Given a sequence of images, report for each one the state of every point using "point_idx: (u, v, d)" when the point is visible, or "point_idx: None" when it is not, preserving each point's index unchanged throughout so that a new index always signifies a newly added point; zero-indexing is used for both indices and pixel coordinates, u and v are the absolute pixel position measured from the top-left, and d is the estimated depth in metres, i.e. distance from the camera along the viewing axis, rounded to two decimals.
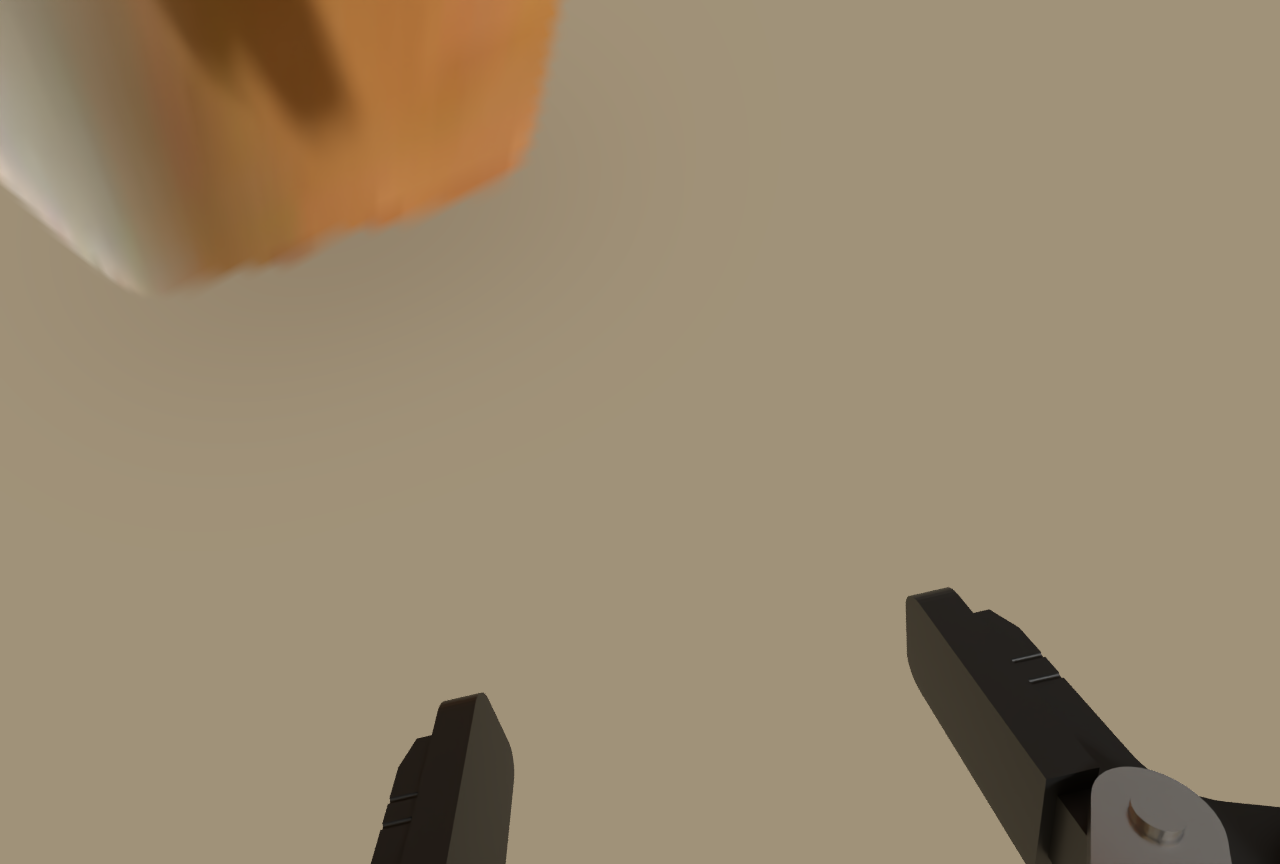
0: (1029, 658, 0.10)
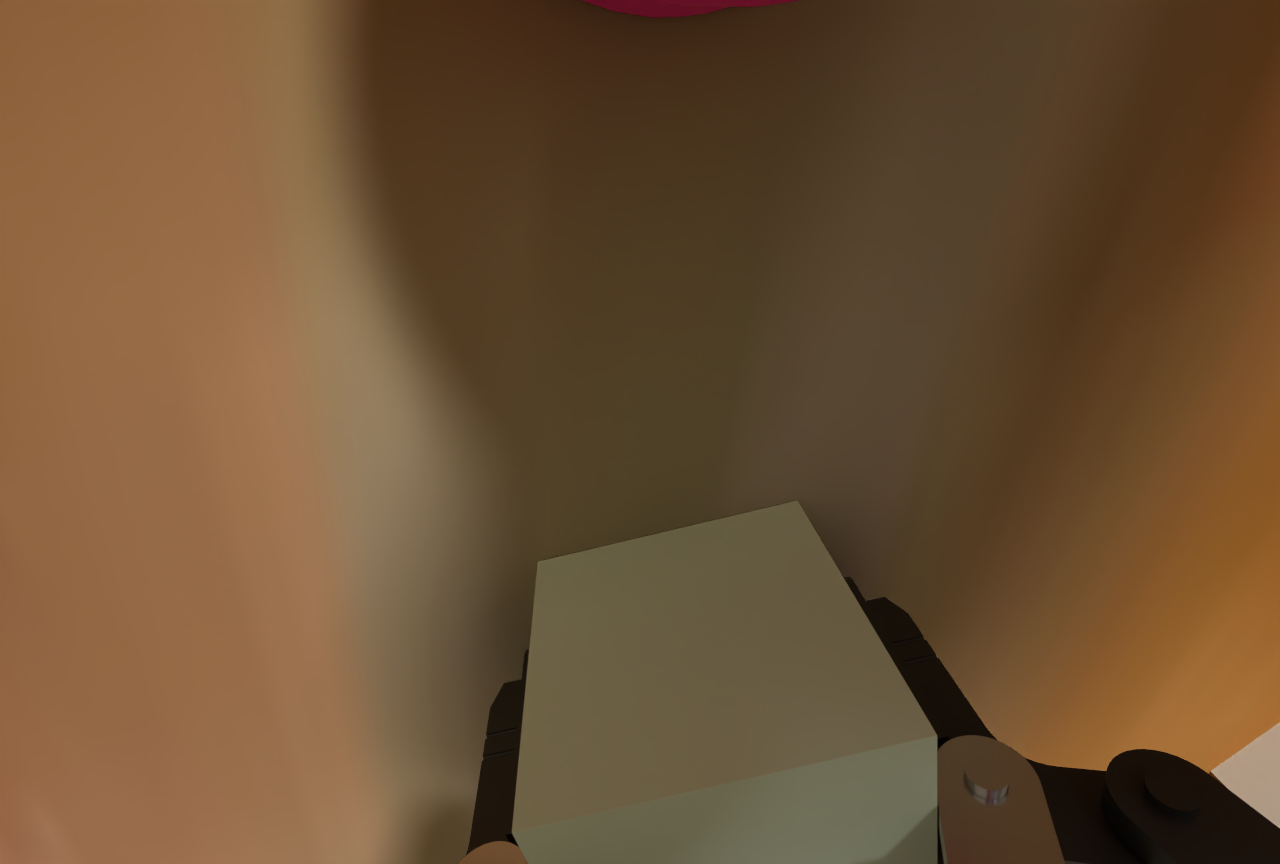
0: (911, 641, 0.10)
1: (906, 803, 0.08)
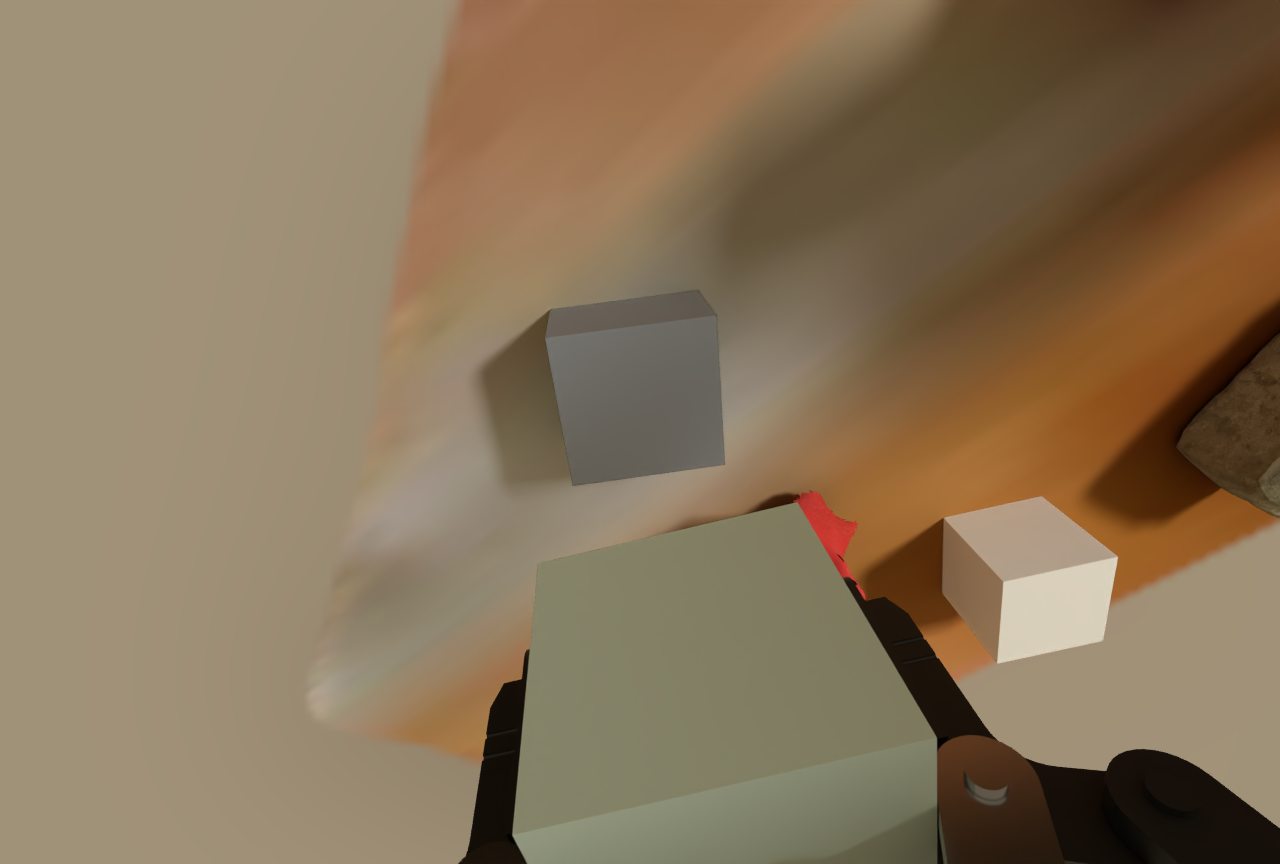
0: (911, 641, 0.10)
1: (906, 805, 0.08)
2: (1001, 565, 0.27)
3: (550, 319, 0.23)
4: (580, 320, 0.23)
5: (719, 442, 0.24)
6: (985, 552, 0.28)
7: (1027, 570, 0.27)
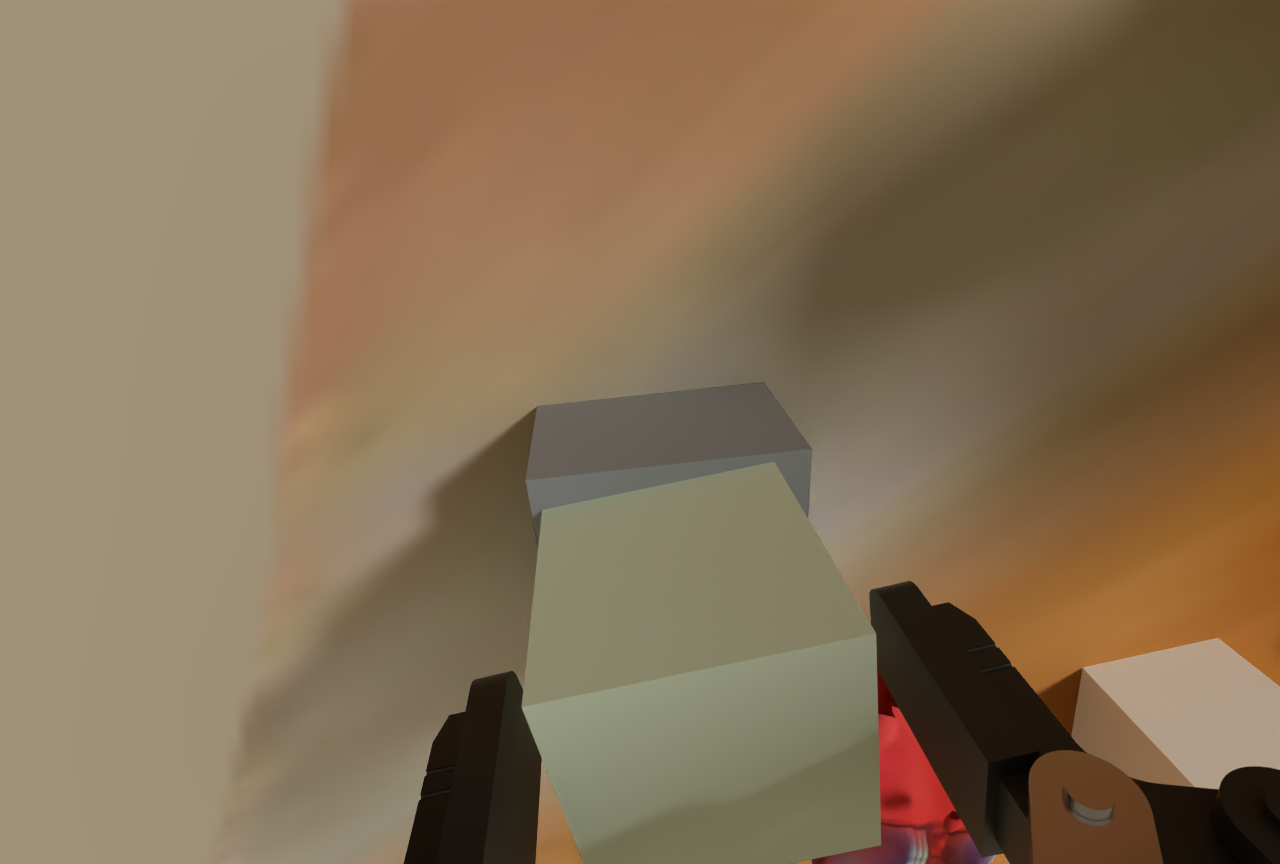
0: (983, 648, 0.10)
1: (851, 696, 0.09)
2: (1194, 765, 0.19)
3: (536, 430, 0.15)
4: (584, 440, 0.14)
5: None
6: (1161, 738, 0.20)
7: None
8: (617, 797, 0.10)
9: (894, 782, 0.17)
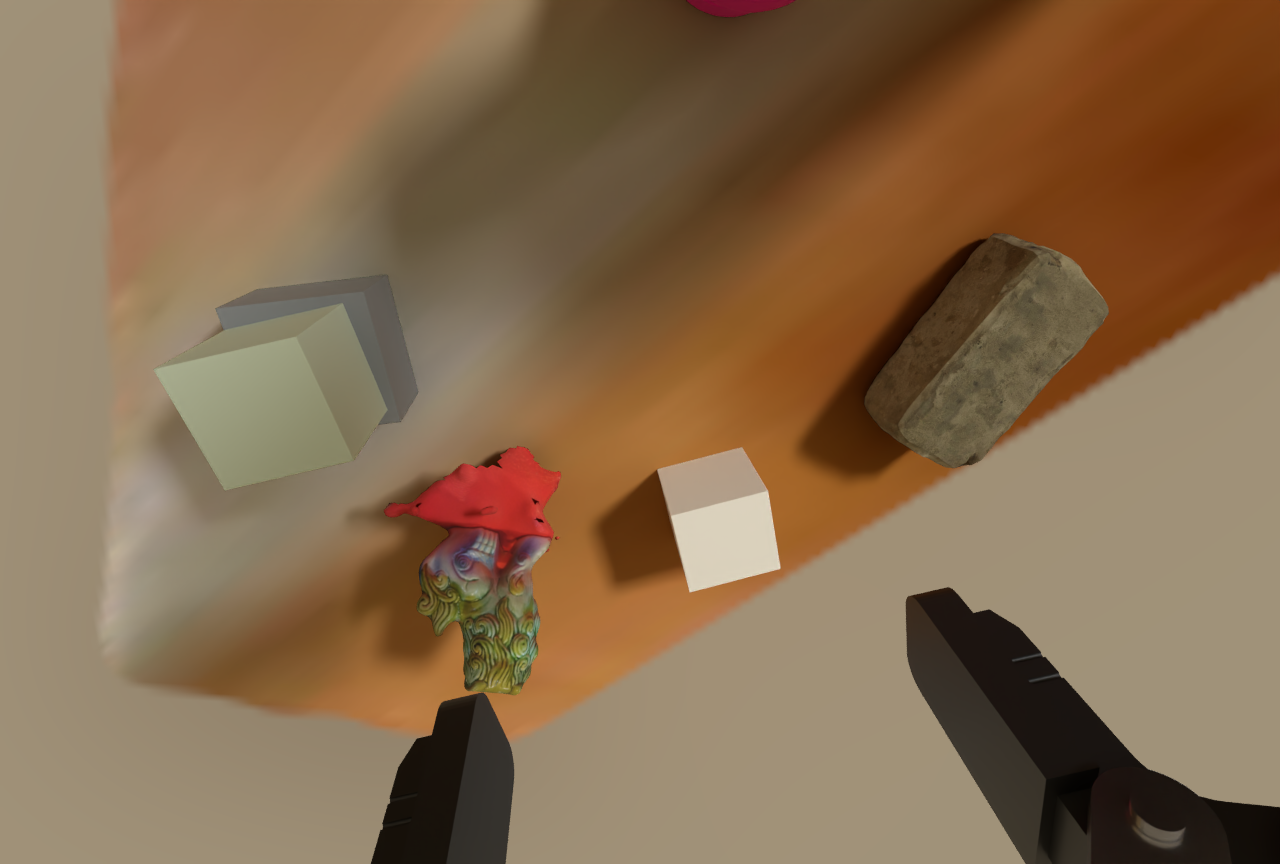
0: (1029, 658, 0.10)
1: (299, 369, 0.22)
2: (677, 503, 0.32)
3: (243, 296, 0.27)
4: (262, 296, 0.27)
5: (391, 402, 0.28)
6: (671, 494, 0.32)
7: (693, 506, 0.31)
8: (211, 422, 0.22)
9: (474, 504, 0.30)
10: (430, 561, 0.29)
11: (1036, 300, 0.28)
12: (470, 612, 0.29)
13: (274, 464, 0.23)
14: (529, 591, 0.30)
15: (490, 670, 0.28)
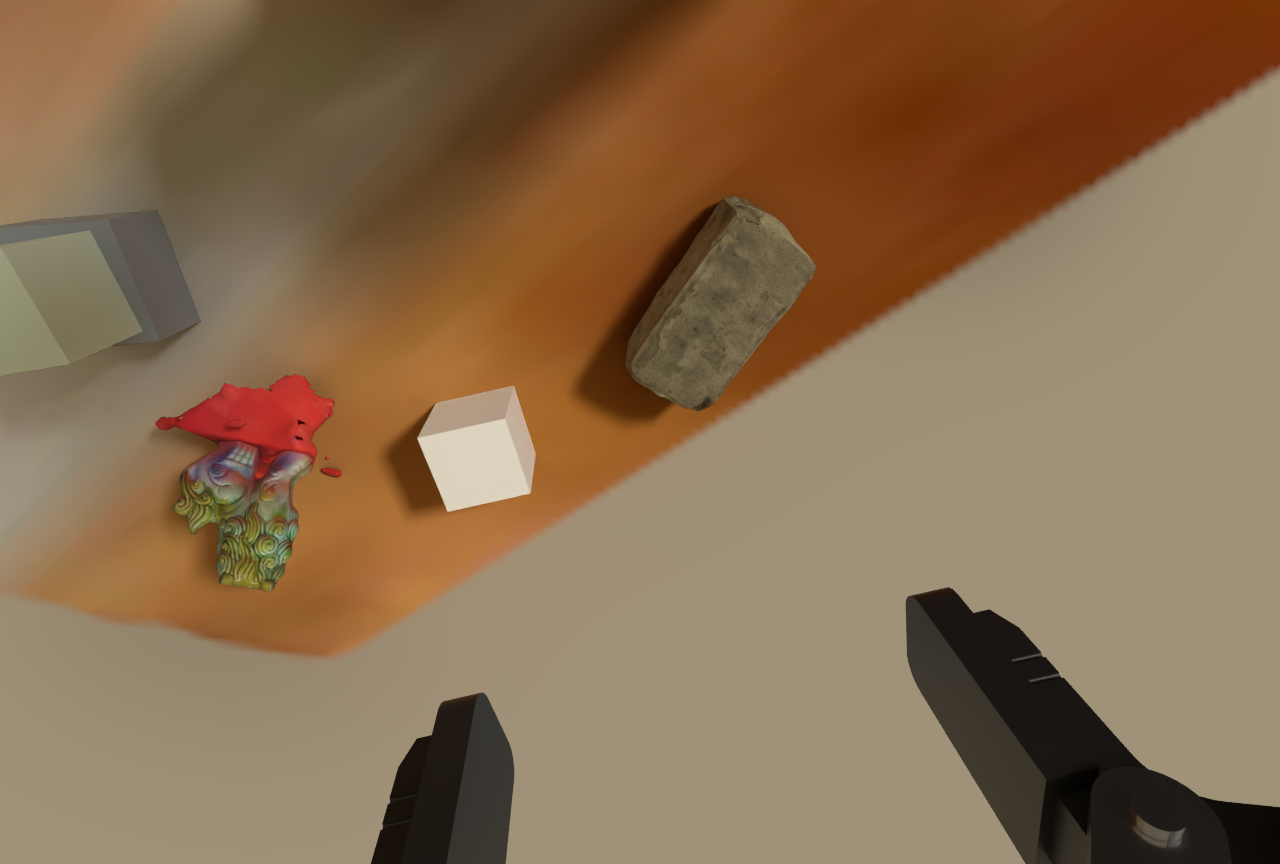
0: (1029, 658, 0.10)
1: (8, 277, 0.25)
2: (429, 429, 0.35)
3: (17, 223, 0.31)
4: (28, 223, 0.30)
5: (148, 322, 0.31)
6: (430, 422, 0.36)
7: (440, 430, 0.34)
8: None
9: (235, 420, 0.33)
10: (191, 468, 0.33)
11: (740, 254, 0.31)
12: (224, 514, 0.33)
13: None
14: (281, 499, 0.33)
15: (235, 564, 0.32)
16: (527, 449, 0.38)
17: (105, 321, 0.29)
